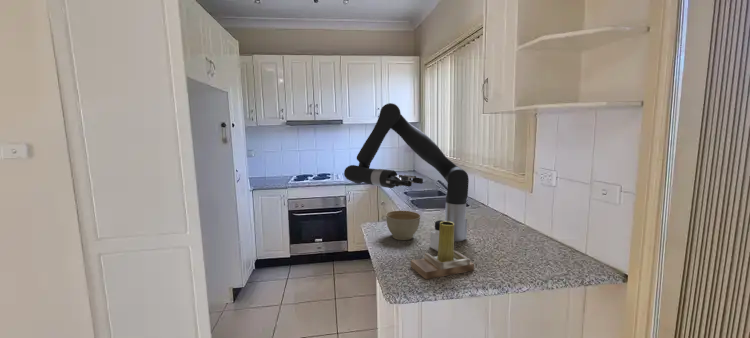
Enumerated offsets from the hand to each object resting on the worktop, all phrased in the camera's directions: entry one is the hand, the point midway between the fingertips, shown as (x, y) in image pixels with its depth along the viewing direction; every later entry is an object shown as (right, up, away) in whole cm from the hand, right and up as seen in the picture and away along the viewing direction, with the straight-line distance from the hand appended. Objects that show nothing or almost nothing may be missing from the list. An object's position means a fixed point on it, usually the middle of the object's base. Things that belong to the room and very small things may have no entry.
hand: (417, 182), depth 132 cm
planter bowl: (-3, -27, +26) cm, 37 cm away
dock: (+8, -31, -9) cm, 34 cm away
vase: (+10, -29, -8) cm, 31 cm away
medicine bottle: (+12, -29, +11) cm, 33 cm away
